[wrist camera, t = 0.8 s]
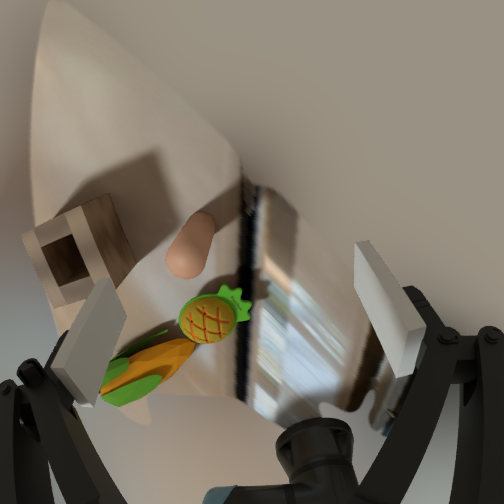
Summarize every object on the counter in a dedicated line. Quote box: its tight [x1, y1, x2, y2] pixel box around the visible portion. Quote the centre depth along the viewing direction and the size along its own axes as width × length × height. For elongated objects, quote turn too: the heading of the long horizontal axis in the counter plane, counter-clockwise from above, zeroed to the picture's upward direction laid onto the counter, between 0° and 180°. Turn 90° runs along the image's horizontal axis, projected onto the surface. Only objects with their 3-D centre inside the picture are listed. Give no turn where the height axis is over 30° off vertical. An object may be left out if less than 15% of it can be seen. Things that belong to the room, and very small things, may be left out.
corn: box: [99, 330, 196, 407], centre depth 42 cm, size 7×8×20 cm
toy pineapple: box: [179, 284, 252, 344], centre depth 41 cm, size 7×10×5 cm
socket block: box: [21, 193, 137, 308], centre depth 36 cm, size 10×10×8 cm
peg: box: [166, 212, 216, 279], centre depth 34 cm, size 4×4×12 cm
